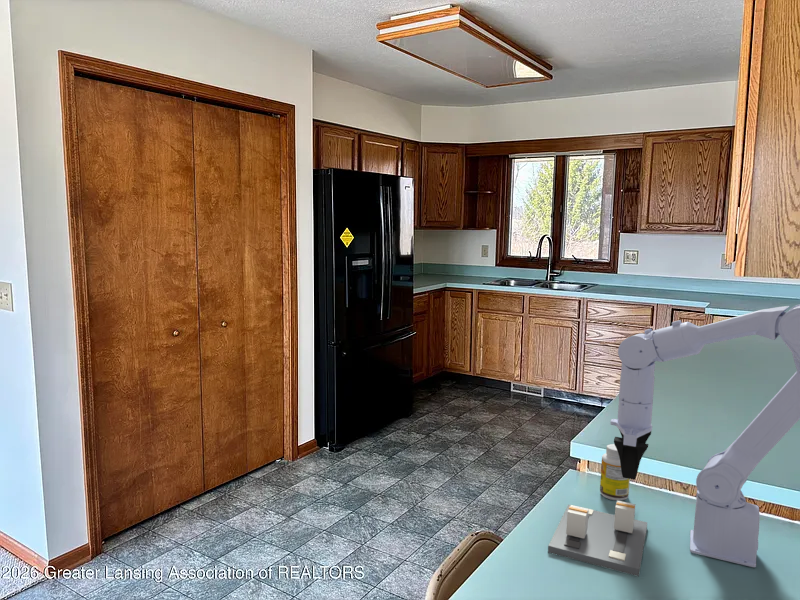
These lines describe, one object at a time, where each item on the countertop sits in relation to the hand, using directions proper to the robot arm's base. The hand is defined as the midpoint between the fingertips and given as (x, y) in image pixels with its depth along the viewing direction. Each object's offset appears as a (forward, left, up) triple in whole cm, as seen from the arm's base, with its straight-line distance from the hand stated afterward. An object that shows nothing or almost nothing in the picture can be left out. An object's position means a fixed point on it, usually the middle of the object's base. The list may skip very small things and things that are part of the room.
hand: (630, 471), depth 106 cm
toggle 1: (+7, +12, -8) cm, 16 cm away
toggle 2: (0, +7, -8) cm, 10 cm away
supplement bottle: (+4, -10, -10) cm, 14 cm away
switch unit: (+4, +10, -9) cm, 14 cm away
